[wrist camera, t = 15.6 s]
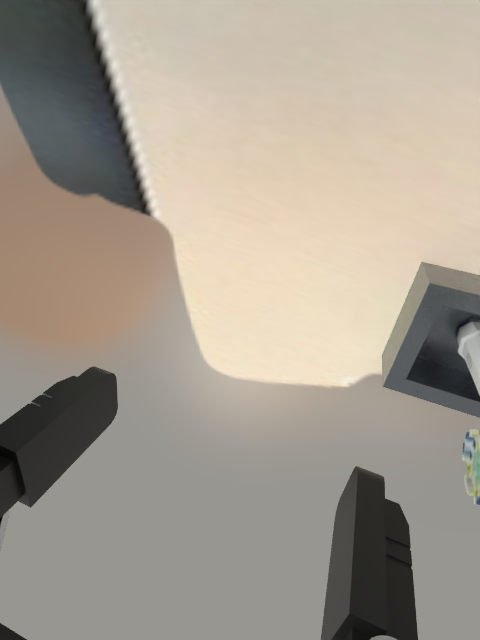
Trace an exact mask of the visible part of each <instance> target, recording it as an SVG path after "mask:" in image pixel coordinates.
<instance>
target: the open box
mask: <svg viewBox="0 0 480 640" xmlns="http://www.w3.org/2000/svg"><path fill="white" fill-rule="evenodd" d="M470 319H475V320H480V275H475V274H471V273H467V272H463V271H458V270H454V269H450V268H445V267H441V266H437V265H433V264H428V263H424V262H422V263H421V265H420V268H419V270H418V272H417V275H416V277H415V279H414V282H413V284H412V286H411V289H410V291H409V293H408V296H407V298H406V300H405V303H404V305H403V307H402V310H401V312H400V314H399V317H398V319H397V321H396V324H395V326H394V329H393V331H392V333H391V336H390V338H389V340H388V343H387V345H386V347H385V350H384V352H383V354H382V375H383V387H386V388H389V389H392V390H395V391H399V392H402V393H405V394H408V395H411V396H414V397H417V398H420V399H424V400H426V401H430V402H433V403H436V404H439V405H442V406H445V407H448V408H451V409H455V410H458V411H461V412H464V413H467V414H471V415H474V416H477V417H480V395H479V392H478V390H477V388H476V385H475V383H474V380H473V378H472V376H471V373H470V371H469V368H468V366H467V363H466V361H465V359H464V358H463V357H462V356H461V355H460V354H459V353H458V348H459V344H458V341H457V339H456V334H457V330H458V326H460V325H461V324H463V323H465V322H467V321H469V320H470Z"/></svg>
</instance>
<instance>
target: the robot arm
mask: <svg viewBox="0 0 480 640" xmlns="http://www.w3.org/2000/svg"><path fill="white" fill-rule="evenodd" d="M117 409H118V403H117V381H116V376H115V375H114V374H113V373H110V372H108V371H105V370H103V369H99V368H97V367H91V368H89V369H88V370H86V371H85V372H84V373H82V374H81V375H80V376H78V377H76V376H72V377H70V378H67V379H65V380H62V381H60V382H57V383H56V384H54V385H53V386H52V387H50V388H49V389H48V390H46V391H45V392H44V393H43V394H42V395H40V396H38V397H37V398H36V399H34V400H33V401H32V402H31V404H27V405H26V406H25V407H23V408H22V409H21V410H19V411H18V412H17V413H15V414H14V415H13V416H11V417H10V418H9V419H7V420H6V421H5V422H3V423H2V424H1V425H0V550H1V545H2V542H3V538H4V534H5V530H6V526H7V522H8V518H9V509H10V508H11V507H12V506H13V505H14V504H15V503H16V502H17V501H19V502H21V503H23V504H25V505H27V506H29V507H32V506H33V505H34V504H35V503H36V502H37V500H38V499H39V498H40V497H41V496H42V495H43V494H44V493H45V492H46V491H47V490H48V489H49V488H50V487H51V486H52V485H53V484H54V483H55V482H56V481H57V480H58V478H59V477H60V476H61V475H62V474H63V473H64V472H65V471H66V470H67V469H68V468H69V467H70V466H71V465H72V464H73V463H74V462H75V461H76V460H77V459H78V458H79V457H80V455H81V454H82V453H83V452H84V451H85V450H86V449H87V448H88V447H89V446H90V445H91V444H92V443H93V442H94V441H95V440H96V439H97V438H98V437H99V436H100V435H101V433H102V432H103V431H104V430H105V429H106V428H107V427H108V426H109V425H110V424H111V423H112V421H113V420H114V418H115V416H116V413H117ZM384 483H385V482H384V477H383V476H381V475H378V474H376V473H373V472H370V471H368V470H365V469H362V468H360V467H357V466H356V467H355V468H354V470H353V472H352V474H351V476H350V478H349V480H348V483H347V485H346V487H345V489H344V491H343V493H342V496H341V498H340V500H339V503H338V507H337V511H336V516H335V523H334V531H333V540H332V548H331V557H330V566H329V574H328V583H327V592H326V601H325V609H324V617H323V626H322V635H321V640H418V635H417V622H416V609H415V597H414V585H413V572H412V569H411V566H412V559H411V551H410V535H409V525H408V523H407V520H406V518H405V516H404V514H403V511H402V509H401V507H400V505H399V504H398V503H395V502H392V501H390V500H387V499H385V484H384ZM0 640H26V639H25V638H23V637H21V636H20V635H18V634H17V633H15V632H14V631H12V630H10V629H9V628H7V627H6V626H4V625H2V624H1V623H0Z"/></svg>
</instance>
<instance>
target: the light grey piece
mask: <svg viewBox="0 0 480 640" xmlns="http://www.w3.org/2000/svg"><path fill="white" fill-rule="evenodd" d="M456 339H457V341H458V344H459V348H458V353H459V354H460V355H461V356H462V357H463V358H464V359H465V361H466V363H467V366H468V368H469V371H470V373H471V376H472V378H473V380H474V383H475V385H476V388H477V390H478V392H479V395H480V320H475V319H470V320H469V321H467V322H465V323H463V324H461V325H460V326H458V330H457V334H456ZM462 461H465V462H467V467H468V475H465V476H464V482H465V486H466V490H467V493H468V495H470V496H473V497H474V505H478V506H480V430H476V429H471V430H470V431H469V432H467V434H466V437H465V440H464V443H463V456H462Z"/></svg>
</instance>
